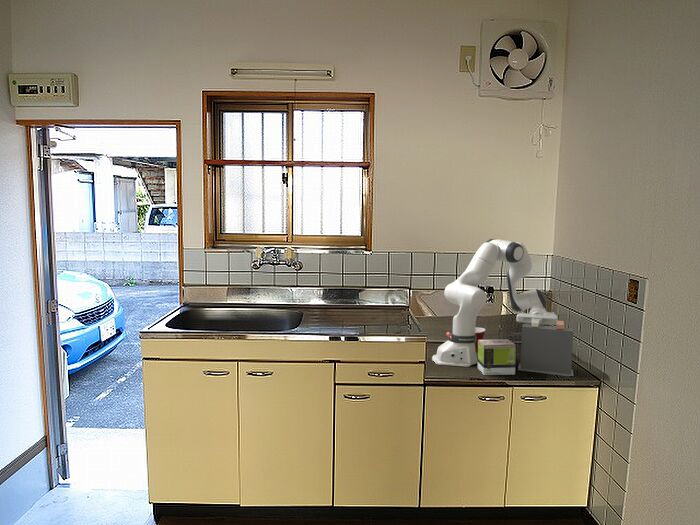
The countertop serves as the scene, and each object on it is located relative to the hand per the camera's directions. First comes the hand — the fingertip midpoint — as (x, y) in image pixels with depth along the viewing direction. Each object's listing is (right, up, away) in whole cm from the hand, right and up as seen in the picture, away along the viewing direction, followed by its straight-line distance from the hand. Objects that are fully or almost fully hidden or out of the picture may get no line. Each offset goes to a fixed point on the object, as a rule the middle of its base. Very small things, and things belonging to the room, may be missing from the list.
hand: (536, 322), depth 245 cm
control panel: (-3, -21, -18) cm, 28 cm away
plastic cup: (-28, -17, +14) cm, 36 cm away
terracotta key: (+3, -5, -19) cm, 20 cm away
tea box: (-27, -21, -20) cm, 39 cm away
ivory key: (-7, -4, -15) cm, 17 cm away
